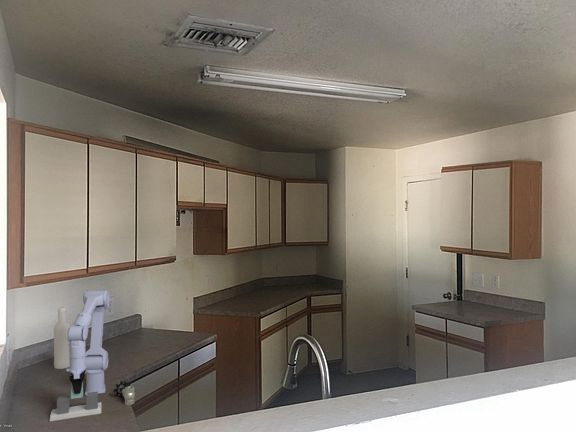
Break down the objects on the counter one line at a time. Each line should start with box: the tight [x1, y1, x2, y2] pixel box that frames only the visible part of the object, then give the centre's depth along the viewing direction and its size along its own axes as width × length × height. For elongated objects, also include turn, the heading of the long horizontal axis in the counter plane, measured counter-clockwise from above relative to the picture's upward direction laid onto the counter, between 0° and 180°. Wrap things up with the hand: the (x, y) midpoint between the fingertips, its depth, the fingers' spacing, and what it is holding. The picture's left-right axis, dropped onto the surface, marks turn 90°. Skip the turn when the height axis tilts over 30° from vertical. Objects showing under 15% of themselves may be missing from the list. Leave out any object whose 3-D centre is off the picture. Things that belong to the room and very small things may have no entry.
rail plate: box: [49, 392, 102, 422], centre depth 179 cm, size 9×18×6 cm, turn 112°
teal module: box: [70, 382, 84, 400], centre depth 179 cm, size 4×4×6 cm
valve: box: [113, 380, 136, 406], centre depth 191 cm, size 7×7×12 cm
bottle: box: [53, 306, 71, 370], centre depth 232 cm, size 8×8×30 cm
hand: (77, 390), depth 179 cm, fingers closed on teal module, 4 cm apart
